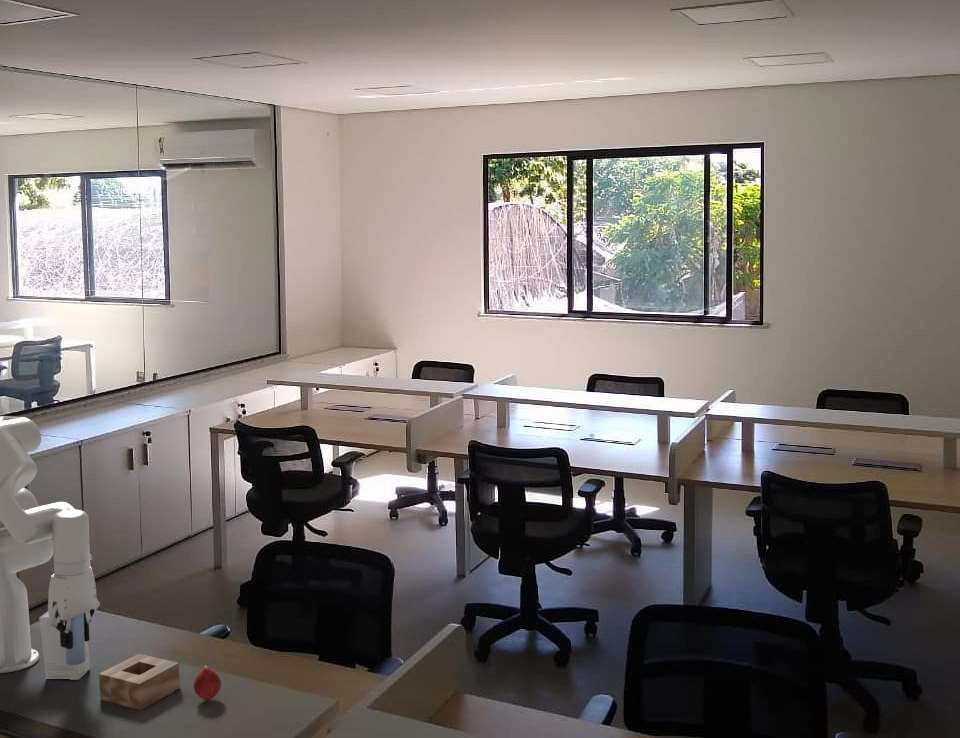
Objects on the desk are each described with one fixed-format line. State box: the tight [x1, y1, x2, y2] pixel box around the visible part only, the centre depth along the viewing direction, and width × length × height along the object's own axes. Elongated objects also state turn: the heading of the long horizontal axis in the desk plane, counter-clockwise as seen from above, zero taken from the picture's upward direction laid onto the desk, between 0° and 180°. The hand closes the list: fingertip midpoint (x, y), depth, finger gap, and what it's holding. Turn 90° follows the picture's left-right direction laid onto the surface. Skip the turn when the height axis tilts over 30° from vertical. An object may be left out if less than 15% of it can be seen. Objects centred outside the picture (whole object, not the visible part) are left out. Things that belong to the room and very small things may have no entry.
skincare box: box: [39, 610, 91, 681], centre depth 242 cm, size 8×7×16 cm
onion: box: [193, 665, 222, 702], centre depth 229 cm, size 6×6×8 cm
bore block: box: [98, 653, 181, 711], centre depth 233 cm, size 12×12×6 cm
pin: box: [66, 613, 85, 665], centre depth 233 cm, size 4×4×14 cm
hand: (75, 642), depth 234 cm, fingers closed on pin, 4 cm apart
